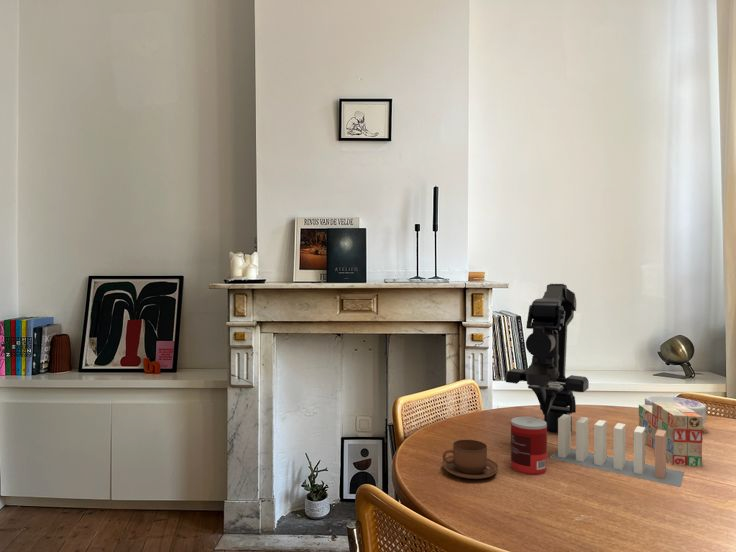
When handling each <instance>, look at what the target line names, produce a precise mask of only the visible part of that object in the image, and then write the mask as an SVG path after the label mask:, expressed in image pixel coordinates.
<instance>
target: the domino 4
mask: <svg viewBox="0 0 736 552" xmlns="http://www.w3.org/2000/svg"><path fill="white" fill-rule="evenodd" d="M626 425H627V424H625V423H621V422H617V423H616V424H615V426H614V427H613V457H614V469H619V470H622V468H623V467H624V465H625V460H626V448H627V447H626V444H627V443H626V439H627V438H626V427H627V426H626Z"/></svg>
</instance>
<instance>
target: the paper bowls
mask: <svg viewBox="0 0 736 552" xmlns="http://www.w3.org/2000/svg"><path fill="white" fill-rule="evenodd" d="M652 402H667V403H679V404H681V405H683V406H685V407H687V408H689V409H691V410H693V411H695V412H696V413H697V414H699V415H700V416H702V417H703V425H704V424H706V423H707V418H706V417H707V406H706V404H705V403H702V402H701V401H698V400H697V401H696V400H693V399H689V398H683V397H678V396H677V397H676V396H668V395H648V396H645V398H644V405H652Z"/></svg>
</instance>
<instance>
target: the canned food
mask: <svg viewBox="0 0 736 552" xmlns="http://www.w3.org/2000/svg"><path fill="white" fill-rule="evenodd" d="M547 456H548V432H547V423H546V422H545V421H544V419H541V418H537V417H533V416H516V417H513V418H511V420H510V467H511V469H512V470H514V471H515V472H517V473H519V474H524V475H531V476H536V475H542V474H545V473H546V471H547V467H548V466H547V464H548V461H547V459H548V457H547Z"/></svg>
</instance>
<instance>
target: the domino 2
mask: <svg viewBox="0 0 736 552" xmlns="http://www.w3.org/2000/svg"><path fill="white" fill-rule="evenodd" d="M575 450H576V460H577V461H582V462H583V461H584V460H585V459H586V458H587V457H588V452H589V417H584V416H580V417H579V418H578V419H576V421H575Z"/></svg>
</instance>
